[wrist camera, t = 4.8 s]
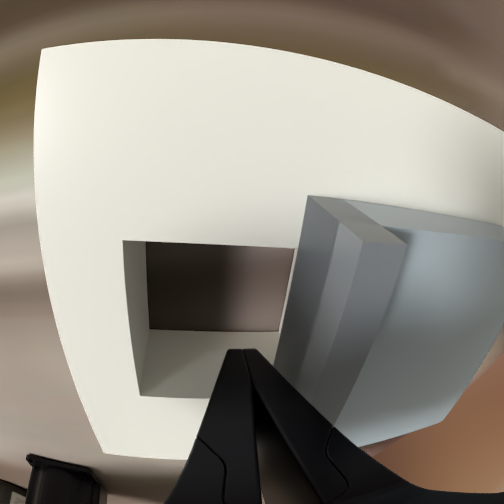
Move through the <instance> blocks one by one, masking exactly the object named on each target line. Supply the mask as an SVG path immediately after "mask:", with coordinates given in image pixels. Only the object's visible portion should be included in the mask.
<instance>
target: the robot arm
mask: <svg viewBox="0 0 504 504" xmlns="http://www.w3.org/2000/svg"><path fill="white" fill-rule="evenodd" d="M26 460H27V461H28V462H29V464H30V465H31V466H32V467H33V468H32V472H31V476H30V480H29V485H28V489H27V494H26V499H25V504H107V493H106V491H105V490H104V488H103V487H102V485H101V484H100V483H99V481H98V480H97V478H96V477H95V475H94V474H93V472H92V471H91V470H90V469H87V468H83V467H78V466H73V465H68V464H63V463H59V462H55V461H51V460H47V459H43V458H39V457H35V456H32V455H27V456H26ZM261 490H262V494H263V497H264V501H265V504H504V492H500V493H461V492H446V491H436V490H428V489H424V488H421V487H418V486H415V485H413V484H411V483H409V482H408V481H406V480H404V479H403V478H401V477H400V476H398V475H397V474H395V473H394V472H392V471H391V470H389V469H387V468H386V467H385V466H383V465H382V464H380V463H379V462H378V461H376V460H375V459H373V458H372V457H370V456H369V455H368V454H366V453H365V452H364V451H362V450H361V449H360V448H358V447H357V446H356V445H355V444H354V443H352V442H351V441H350V440H349V439H348V438H347V437H346V436H344V435H343V434H342V433H341V432H340V431H339V430H338V429H337V428H336V427H333V425H332V424H331V423H330V422H329V421H328V420H327V419H326V418H325V417H324V416H323V415H322V414H321V413H320V412H319V411H318V410H317V409H316V408H315V407H314V406H313V405H312V404H311V403H310V402H309V401H308V400H306V399H305V398H304V397H303V396H302V395H301V394H300V393H299V392H298V391H297V390H296V389H295V388H294V387H293V386H292V385H291V384H290V383H289V382H288V381H287V380H286V379H285V378H284V377H283V376H282V375H281V374H280V373H279V371H278V370H277V369H276V368H275V367H274V366H273V365H272V364H271V363H270V362H269V361H268V360H267V359H266V358H265V357H264V356H263V355H262V354H261V353H260V352H259V351H258V350H257V349H255V348H247V349H228V350H227V352H226V355H225V358H224V360H223V363H222V366H221V369H220V372H219V375H218V377H217V380H216V383H215V386H214V389H213V391H212V394H211V397H210V400H209V403H208V405H207V408H206V411H205V414H204V417H203V419H202V422H201V425H200V428H199V431H198V433H197V436H196V439H195V441H194V444H193V447H192V449H191V452H190V454H189V457H188V459H187V462H186V464H185V466H184V468H183V470H182V472H181V474H180V476H179V478H178V480H177V482H176V484H175V485H174V487H173V489H172V490H171V492H170V494H169V495H168V497H167V499H166V501H165V502H164V504H262V498H261Z"/></svg>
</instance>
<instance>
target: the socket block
mask: <svg viewBox="0 0 504 504" xmlns="http://www.w3.org/2000/svg"><path fill="white" fill-rule="evenodd" d="M34 181H35V198H36V210H37V220H38V229H39V237H40V245H41V252H42V258H43V264H44V270H45V275H46V281H47V286H48V291H49V295H50V300H51V304H52V309H53V313H54V317H55V321H56V325H57V329H58V332H59V336H60V339H61V343H62V346H63V350H64V353H65V356H66V359H67V363H68V366H69V369H70V372H71V375H72V378H73V380H74V383H75V386H76V389H77V391H78V394H79V397H80V399H81V402H82V404H83V407H84V409H85V412H86V414H87V417H88V419H89V422H90V424H91V426H92V428H93V431H94V433H95V435H96V437H97V440H98V442H99V444H100V446H101V448H102V450H103V452H104V453H107V454H115V455H123V456H133V457H144V458H158V459H181V460H187V459H188V457H189V454H190V452H191V449H192V447H193V444H194V441H195V439H196V436H197V433H198V431H199V428H200V425H201V422H202V419H203V417H204V414H205V411H206V408H207V405H208V403H209V400H210V397H211V394H212V391H213V389H214V386H215V383H216V380H217V377H218V375H219V372H220V369H221V366H222V363H223V360H224V358H225V355H226V352H227V350H228V349H247V348H255V349H257V350H258V351H259V352H260V353H261V354H262V355H263V356H264V357H265V358H266V359H267V360H268V361H269V362H270V363H271V364H272V365H273V364H274V360H275V356H276V351H277V347H278V342H279V338H280V333H281V329H282V324H283V320H284V315H285V310H286V305H287V301H288V296H289V291H290V286H291V281H292V276H293V271H294V266H295V261H296V256H297V251H298V245H299V240H300V235H301V229H302V224H303V218H304V213H305V207H306V201H307V196H308V195H311V196H320V197H329V198H337V199H345V200H353V201H360V202H368V203H375V204H382V205H389V206H396V207H402V208H409V209H415V210H421V211H427V212H433V213H439V214H445V215H450V216H456V217H461V218H466V219H471V220H477V221H482V222H487V223H491V224H496V225H501V226H503V227H504V132H503V131H501V130H500V129H498V128H496V127H494V126H493V125H491V124H489V123H487V122H485V121H483V120H482V119H480V118H478V117H476V116H474V115H472V114H470V113H468V112H466V111H464V110H462V109H460V108H458V107H456V106H454V105H452V104H449V103H447V102H445V101H443V100H441V99H438V98H436V97H434V96H432V95H429V94H427V93H424V92H422V91H420V90H417V89H415V88H412V87H409V86H407V85H404V84H401V83H399V82H396V81H393V80H390V79H388V78H385V77H382V76H379V75H376V74H373V73H370V72H366V71H363V70H360V69H357V68H353V67H350V66H346V65H343V64H339V63H335V62H331V61H327V60H323V59H319V58H315V57H311V56H306V55H301V54H297V53H292V52H286V51H281V50H275V49H269V48H263V47H257V46H250V45H242V44H234V43H224V42H213V41H200V40H180V39H131V40H112V41H99V42H88V43H79V44H71V45H64V46H58V47H51V48H46V49H42V51H41V58H40V65H39V72H38V81H37V91H36V103H35V119H34ZM146 241H153V242H175V243H197V244H218V245H239V246H259V247H279V248H295V251H294V257H293V262H292V267H291V272H290V277H289V282H288V288H287V293H286V297H285V302H284V307H283V312H282V317H281V322H280V326H279V331H278V332H209V331H176V330H155V329H150V328H149V314H148V297H147V275H146Z"/></svg>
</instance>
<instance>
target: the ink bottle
mask: <svg viewBox="0 0 504 504" xmlns="http://www.w3.org/2000/svg"><path fill="white" fill-rule="evenodd" d="M26 494H27V491H26V490H23V489H21V488H19V487H17V486H14V485H12V484H9V483H6V482H3V481H0V504H25V499H26Z"/></svg>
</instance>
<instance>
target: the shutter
mask: <svg viewBox="0 0 504 504" xmlns="http://www.w3.org/2000/svg"><path fill="white" fill-rule="evenodd" d="M503 324H504V227H503V226H501V225H496V224H491V223H487V222H482V221H477V220H471V219H466V218H461V217H456V216H450V215H445V214H439V213H433V212H427V211H421V210H415V209H409V208H402V207H396V206H389V205H382V204H375V203H368V202H360V201H353V200H345V199H337V198H329V197H320V196H311V195H308V196H307V201H306V207H305V213H304V218H303V224H302V229H301V235H300V240H299V245H298V251H297V256H296V261H295V266H294V271H293V276H292V281H291V286H290V291H289V296H288V301H287V305H286V310H285V315H284V320H283V324H282V329H281V333H280V338H279V342H278V347H277V351H276V356H275V360H274V364H273V366H274V367H275V368H276V369H277V370H278V371H279V373H280V374H281V375H282V376H283V377H284V378H285V379H286V380H287V381H288V382H289V383H290V384H291V385H292V386H293V387H294V388H295V389H296V390H297V391H298V392H299V393H300V394H301V395H302V396H303V397H304V398H305V399H306V400H308V401H309V402H310V403H311V404H312V405H313V406H314V407H315V408H316V409H317V410H318V411H319V412H320V413H321V414H322V415H323V416H324V417H325V418H326V419H327V420H328V421H329V422H330V423H331V424H332V425H333V427H336V428H337V429H338V430H339V431H340V432H341V433H342V434H343V435H344V436H346V437H347V438H348V439H349V440H350V441H351V442H352V443H354V444H355V445H356V446H357V447H360V446H364V445H368V444H372V443H376V442H380V441H383V440H387V439H390V438H394V437H397V436H400V435H404V434H407V433H410V432H413V431H416V430H419V429H422V428H425V427H428V426H430V425H433V424H436V423H439V422H441V421H443V419H444V418H445V417H446V415H447V414H448V413H449V411H450V410H451V409H452V407H453V406H454V405H455V403H456V402H457V400H458V399H459V398H460V396H461V395H462V393H463V392H464V390H465V389H466V387H467V386H468V384H469V383H470V381H471V380H472V378H473V377H474V375H475V374H476V372H477V370H478V369H479V367H480V365H481V364H482V362H483V361H484V359H485V357H486V355H487V354H488V352H489V350H490V348H491V347H492V345H493V343H494V341H495V339H496V338H497V336H498V334H499V332H500V330H501V328H502V326H503Z"/></svg>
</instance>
